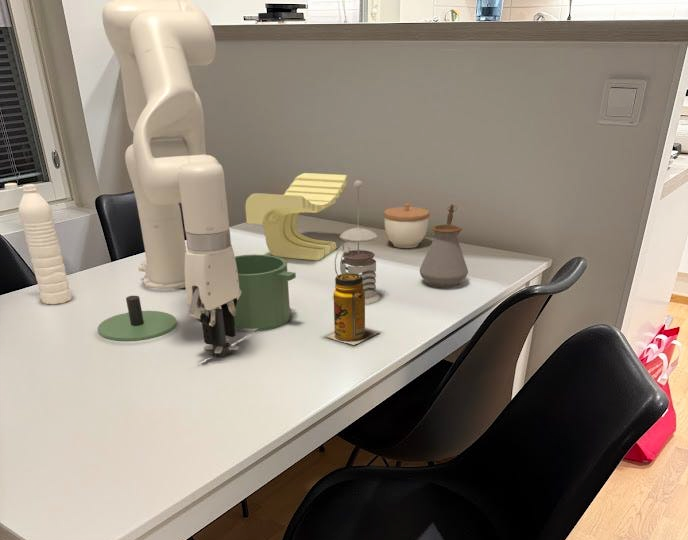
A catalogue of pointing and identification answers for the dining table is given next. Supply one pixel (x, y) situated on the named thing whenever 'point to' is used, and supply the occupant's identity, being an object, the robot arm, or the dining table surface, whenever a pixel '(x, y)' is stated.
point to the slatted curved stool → (295, 214)
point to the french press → (360, 257)
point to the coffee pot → (444, 257)
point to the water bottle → (43, 245)
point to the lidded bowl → (406, 225)
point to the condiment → (350, 310)
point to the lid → (136, 323)
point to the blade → (221, 337)
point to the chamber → (262, 292)
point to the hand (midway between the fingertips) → (220, 338)
